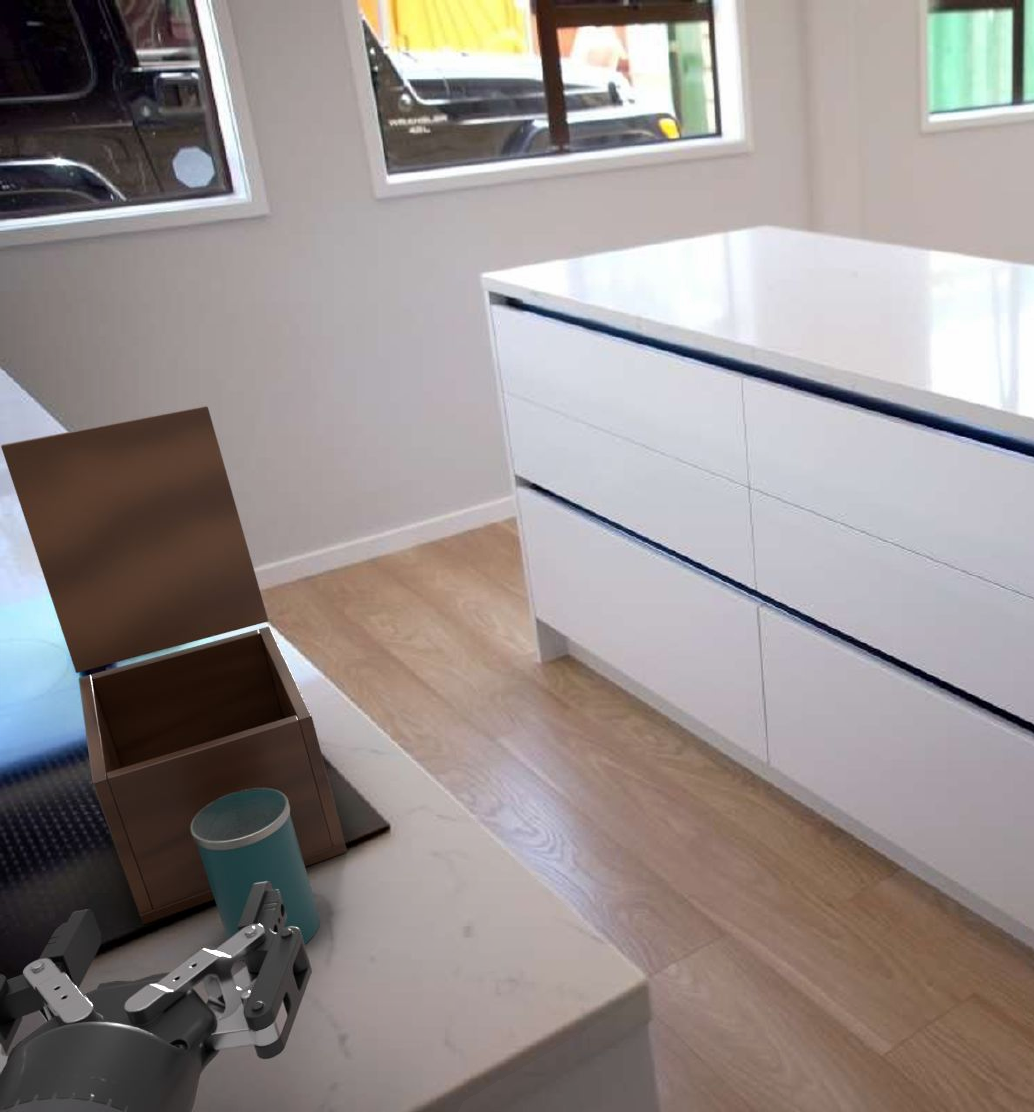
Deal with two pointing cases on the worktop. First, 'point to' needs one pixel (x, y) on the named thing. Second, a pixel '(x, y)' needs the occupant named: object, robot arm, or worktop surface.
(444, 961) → the worktop surface
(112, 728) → the bin
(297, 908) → the tin
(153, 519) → the lid
